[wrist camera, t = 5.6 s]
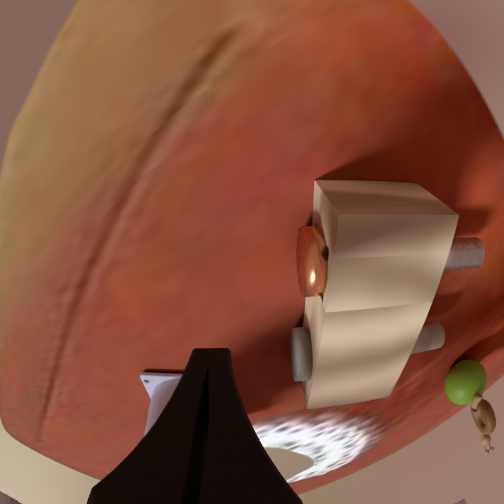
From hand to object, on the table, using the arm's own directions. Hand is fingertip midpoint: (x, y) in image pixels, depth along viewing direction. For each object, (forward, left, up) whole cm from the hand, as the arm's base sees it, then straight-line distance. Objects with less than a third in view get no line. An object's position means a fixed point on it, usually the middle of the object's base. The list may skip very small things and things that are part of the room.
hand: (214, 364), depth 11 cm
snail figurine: (-18, -26, -10) cm, 33 cm away
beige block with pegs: (-4, -11, -9) cm, 15 cm away
